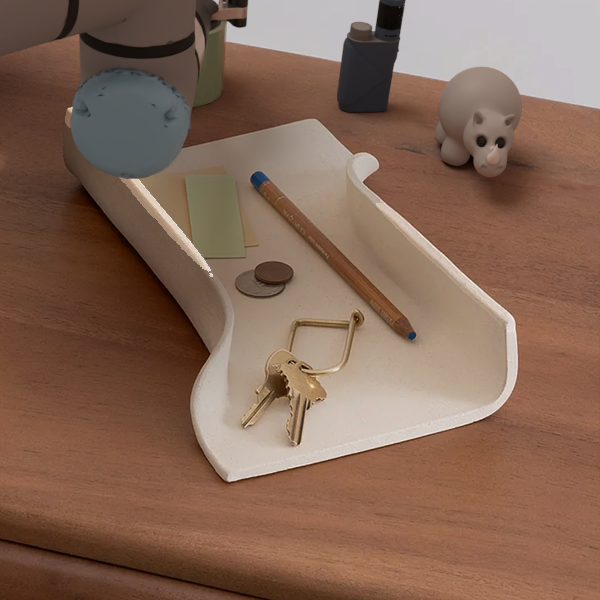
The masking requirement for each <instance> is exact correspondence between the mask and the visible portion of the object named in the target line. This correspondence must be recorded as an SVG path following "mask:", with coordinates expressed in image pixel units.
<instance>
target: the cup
mask: <svg viewBox="0 0 600 600" xmlns="http://www.w3.org/2000/svg"><path fill="white" fill-rule="evenodd" d="M227 30H228V22H223V21H222V20H218V24H217V26H216V27H215V28H214V29H212V30H210V31H209V35H208V39H207V44H206V49H205V53H204V57H203V62H202V66H201V70H200V74H199V78H198V82H197V86H196V91H195V96H194V101H193V107H192V108H196V107H201V106H205V105H208V104H211V103H213V102H215V101H216V100H218V99H219V98H220V97H221V95H222V94H223V91H224V90H223V89H224V83H225V68H226V67H225V66H226V48H227V32H228V31H227Z"/></svg>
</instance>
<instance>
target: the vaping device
mask: <svg viewBox="0 0 600 600" xmlns="http://www.w3.org/2000/svg"><path fill="white" fill-rule="evenodd" d="M405 5H406V0H378V7H377V13H376V21H375V28H374V30H373V25H371V24H370V23H368V22H364V21H355V22H352V23H351V24H350V27H349V32H347V34H346V37H345V38H344V41H343V45H342V52H341V60H340V69H339V75H338V83H337V84H338V85H337V92H336V102H337V103H338V105H337V106H338V107H339V108H340V110H342V111H344V112H347V113H373V112H374V113H375V112H386V111H387V110H388V106H389V98H390V92H391V86H392V81H393V80H392V79H393V73H394V68H395V63H396V61H397V59H398V53H399V52H400V49H399V46H400V41H401V32H402V31H401V30H402V25H403V18H404V12H405Z"/></svg>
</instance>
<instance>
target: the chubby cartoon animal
mask: <svg viewBox="0 0 600 600" xmlns="http://www.w3.org/2000/svg"><path fill="white" fill-rule="evenodd" d="M522 112H523V103H522V96H521V93H520V91H519V89H518V87H517V85H516V84H515V82H514V81H513V79H512V78H510V77H509V75H507V74H506V73H504V72H503V71H500V70H499V69H496V68H494V67H490V66H473V67H470V68H466V69H464V70H462V71H460V72H458V73H457V74H455V75H454V76H453V77H451V79H450V80H448V81H447V83H446V85H445V86H444V88H443V90H442V92H441V94H440V96H439V101H438V112H437V113H438V118H439V120H438V122H437V125H436V127H435V130H434V139H435V141H436V142H438V143H439V144H440V145H441V148H440V153H439V154H440V155H439V156H440V159H441V160H442V161H443V162H445V163H446V164H448V165H451V166H453V167H454V166H455V167H459V166H463V165H465V164H466V163H467V162H468V161H469V159H470V157H471V156H472V157H473V166H474V169H475V170H476V172H477V173H478V174H479V175H481V176H483V177H485V178H495V177H497V176H500V175H501V174H502V173H503V172H504V171H505V169H506V168H507V163H508V153H509V151H510V150H511V148H512V146H513V143H514V139H515V131H516V130H517V128H518V126H519V124H520V121H521V117H522Z"/></svg>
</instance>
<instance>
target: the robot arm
mask: <svg viewBox="0 0 600 600" xmlns="http://www.w3.org/2000/svg"><path fill="white" fill-rule="evenodd" d="M248 6H249V0H218V3H217V1H215V0H0V57H3V56H7V55H9V54H13V53H17V52H20V51H23V50H27V49H30V48H34V47H36V46H41V45H44V44H47V43H51V42H55V41H59V40H63V39H67V38H70V37H75V36H77V35H78V37H79V38H78V40H79V41H78V42H79V69H80V70H79V73H80V74H79V75H80V77H79V78H80V79H79V86H78V87H77V88H76V90H75V91H76V92H75V94H74V95H73V96H72V101H71V102H72V103H71V104H72V109H71V113H70V114H71V115H70V121H69V124H70V133H71V136H72V140H73V141H74V144H75V146H76V148H77V149H78V151H79V153H80V155H81V156H82V157H83V158H84V159H85V161H87V162H88V163H89V164H90V165H92V166H93V167H94V168H96V169H97V170H99V171H101V172H103V173H105V174H107V175H109V176H112V177H116V178H121V179H125V180H139V179H145V178H150V177H152V176H155V175H157V174H160V173H162V172H164V171H165V170H166V169H168V168H169V167H170V166H171V165H172V164H173V163H174V162H175V161H176V160H177V158H178V157H179V155H180V153H181V151H182V149H183V147H184V144H185V141H186V140H187V137H188V135H189V134H190V133H191V129H192V120H191V118H192V112H193V108H194V107H193V101H194V96H195V91H196V86H197V82H198V78H199V74H200V70H201V66H202V62H203V57H204V53H205V49H206V44H207V39H208V35H209V31H210V30H212V29H214V28H215V27H216V26H217V24H218V20H222V21H223V22H227V23H229V24H230V25H231V26H233V27H234V28H238V29H242V28H246V27H247V24H248V23H247V22H248V8H249V7H248Z"/></svg>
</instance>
